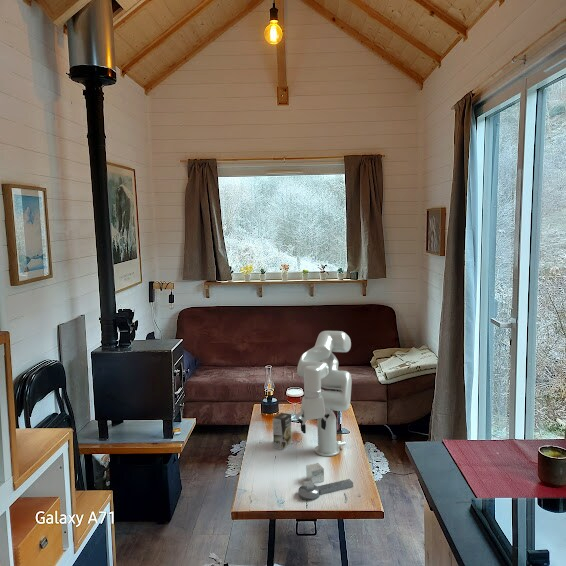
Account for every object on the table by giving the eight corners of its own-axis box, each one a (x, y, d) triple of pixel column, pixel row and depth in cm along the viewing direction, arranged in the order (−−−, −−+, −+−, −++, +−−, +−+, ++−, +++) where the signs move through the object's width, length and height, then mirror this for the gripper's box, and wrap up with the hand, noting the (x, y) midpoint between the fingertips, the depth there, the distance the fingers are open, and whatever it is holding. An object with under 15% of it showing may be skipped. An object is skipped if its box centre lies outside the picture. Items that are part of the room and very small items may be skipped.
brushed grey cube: (318, 475, 245) (318, 463, 244) (324, 481, 239) (323, 468, 238) (306, 478, 243) (306, 465, 242) (311, 484, 237) (311, 471, 236)
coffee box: (283, 450, 272) (283, 419, 270) (273, 447, 276) (272, 417, 274) (292, 443, 280) (291, 413, 278) (281, 441, 283) (281, 412, 281)
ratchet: (346, 480, 239) (346, 468, 239) (356, 489, 231) (356, 477, 230) (295, 492, 230) (295, 480, 230) (303, 502, 222) (303, 490, 221)
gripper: (326, 388, 242) (327, 424, 245) (291, 393, 236) (292, 430, 238) (334, 393, 236) (334, 430, 238) (298, 399, 229) (299, 437, 232)
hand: (313, 430), depth 238 cm, fingers open, 9 cm apart
